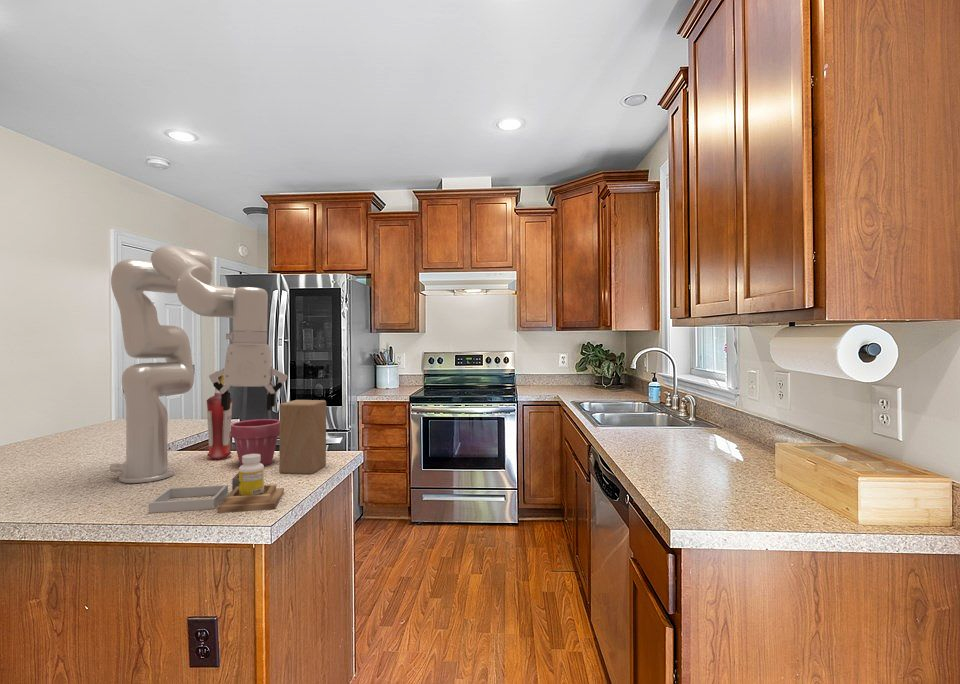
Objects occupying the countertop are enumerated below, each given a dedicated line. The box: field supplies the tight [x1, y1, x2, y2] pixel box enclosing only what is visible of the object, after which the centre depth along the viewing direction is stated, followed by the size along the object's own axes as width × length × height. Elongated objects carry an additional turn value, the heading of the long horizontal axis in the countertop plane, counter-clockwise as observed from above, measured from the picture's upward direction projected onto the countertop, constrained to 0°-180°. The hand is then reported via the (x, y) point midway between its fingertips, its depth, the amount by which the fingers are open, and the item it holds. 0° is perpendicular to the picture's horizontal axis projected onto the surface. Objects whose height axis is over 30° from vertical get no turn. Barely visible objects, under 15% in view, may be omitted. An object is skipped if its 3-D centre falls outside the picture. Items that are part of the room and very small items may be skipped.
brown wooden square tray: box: [216, 483, 285, 513], centre depth 116 cm, size 12×12×3 cm
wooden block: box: [278, 399, 327, 475], centre depth 146 cm, size 10×10×20 cm
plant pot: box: [230, 418, 280, 466], centre depth 152 cm, size 14×14×13 cm
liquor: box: [206, 370, 233, 461], centre depth 159 cm, size 7×7×28 cm
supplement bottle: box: [238, 454, 265, 496], centre depth 116 cm, size 5×5×10 cm
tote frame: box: [148, 484, 229, 514], centre depth 115 cm, size 13×11×2 cm
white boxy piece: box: [231, 472, 239, 491], centre depth 125 cm, size 6×6×4 cm
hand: (248, 409), depth 119 cm, fingers open, 9 cm apart
